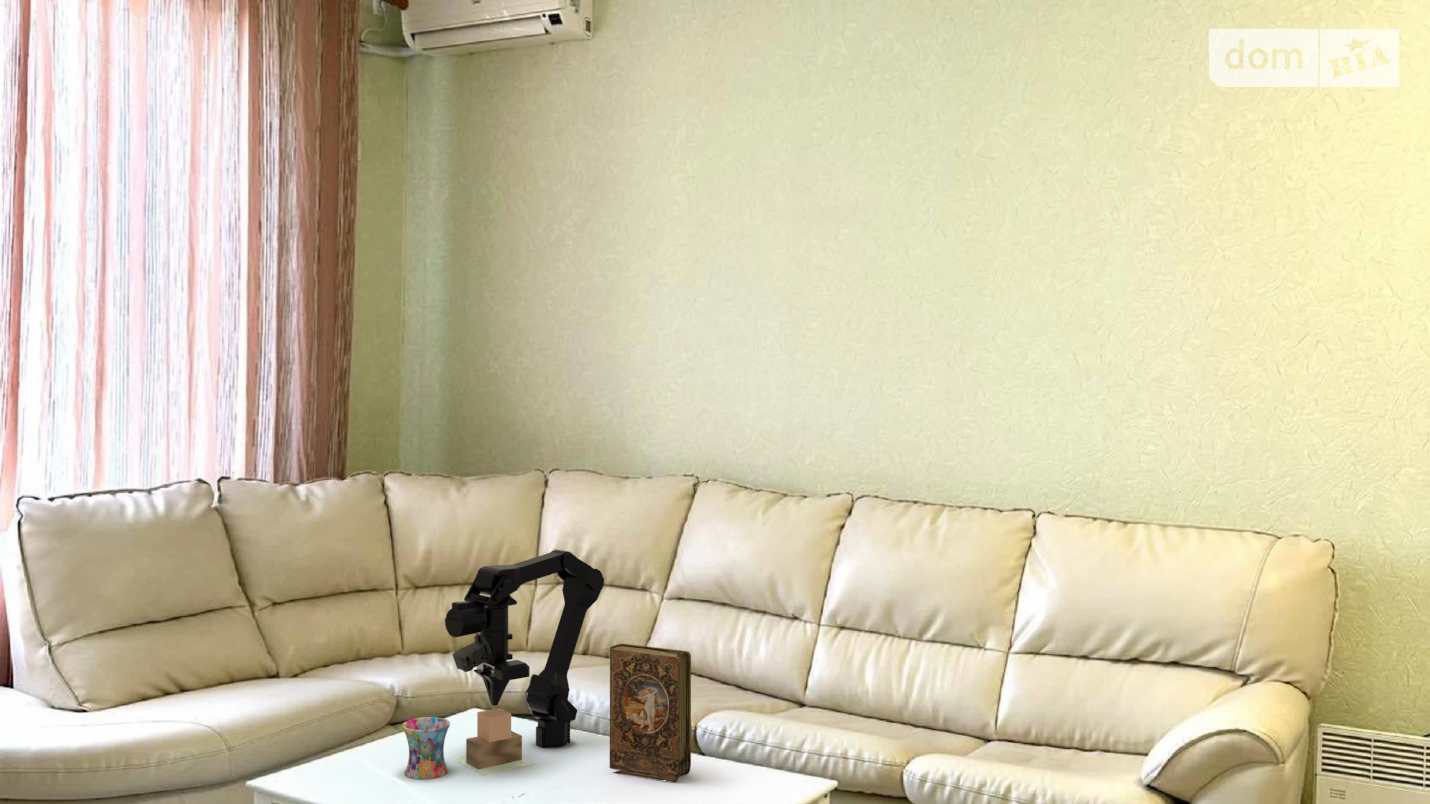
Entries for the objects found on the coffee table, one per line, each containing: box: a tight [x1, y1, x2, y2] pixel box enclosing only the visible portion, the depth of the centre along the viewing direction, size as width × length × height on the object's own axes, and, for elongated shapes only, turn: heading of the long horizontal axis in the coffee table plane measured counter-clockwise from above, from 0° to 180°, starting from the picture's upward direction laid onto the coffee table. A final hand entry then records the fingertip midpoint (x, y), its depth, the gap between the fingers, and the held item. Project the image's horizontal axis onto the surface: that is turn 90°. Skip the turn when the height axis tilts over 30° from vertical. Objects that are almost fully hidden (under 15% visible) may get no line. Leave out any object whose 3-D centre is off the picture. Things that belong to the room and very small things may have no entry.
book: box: [609, 643, 692, 783], centre depth 264 cm, size 16×6×25 cm, turn 65°
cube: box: [476, 707, 512, 742], centre depth 268 cm, size 5×5×5 cm
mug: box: [401, 716, 451, 781], centre depth 263 cm, size 12×9×11 cm
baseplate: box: [454, 756, 536, 776], centre depth 269 cm, size 12×12×1 cm
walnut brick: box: [465, 730, 523, 769], centre depth 269 cm, size 10×5×5 cm, turn 128°
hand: (494, 705), depth 268 cm, fingers closed
